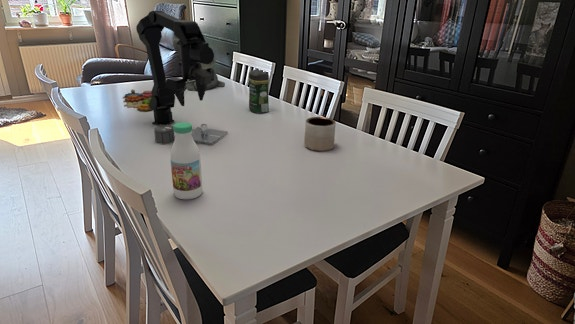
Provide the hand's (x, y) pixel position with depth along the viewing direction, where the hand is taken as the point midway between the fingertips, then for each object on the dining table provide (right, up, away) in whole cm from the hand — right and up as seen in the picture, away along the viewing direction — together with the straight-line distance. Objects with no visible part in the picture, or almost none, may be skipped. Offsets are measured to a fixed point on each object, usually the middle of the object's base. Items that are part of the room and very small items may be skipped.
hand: (192, 103), depth 141 cm
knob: (-10, -14, 0) cm, 17 cm away
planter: (+46, -16, 0) cm, 49 cm away
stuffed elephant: (-13, +20, +74) cm, 77 cm away
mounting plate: (+4, -12, +5) cm, 13 cm away
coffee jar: (+21, +2, +38) cm, 43 cm away
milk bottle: (+7, -30, -34) cm, 47 cm away
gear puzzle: (-35, +6, +43) cm, 56 cm away
